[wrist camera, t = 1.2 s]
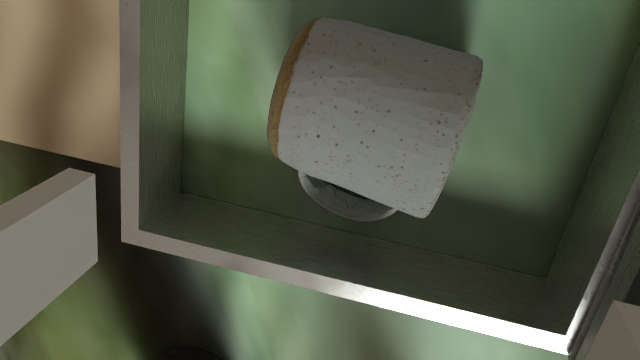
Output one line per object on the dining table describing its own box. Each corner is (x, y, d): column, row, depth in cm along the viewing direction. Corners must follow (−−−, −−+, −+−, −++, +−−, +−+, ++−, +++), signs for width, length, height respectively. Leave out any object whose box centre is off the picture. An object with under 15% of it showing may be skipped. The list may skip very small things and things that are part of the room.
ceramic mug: (321, 1, 26) (278, 19, 19) (481, 44, 25) (495, 80, 18) (280, 184, 31) (234, 252, 24) (414, 226, 30) (407, 308, 23)
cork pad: (-17, 131, 33) (-24, 134, 33) (-45, -96, 28) (-54, -97, 27) (158, 172, 32) (153, 175, 31) (163, -60, 26) (158, -60, 26)
